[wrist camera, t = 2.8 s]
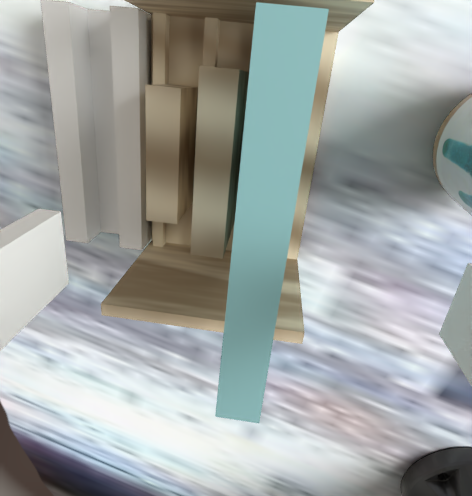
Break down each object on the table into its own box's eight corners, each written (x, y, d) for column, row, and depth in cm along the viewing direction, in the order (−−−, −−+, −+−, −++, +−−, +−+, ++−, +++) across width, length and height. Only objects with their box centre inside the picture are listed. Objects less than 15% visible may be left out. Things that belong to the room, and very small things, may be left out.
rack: (295, 261, 39) (302, 343, 27) (156, 243, 40) (101, 315, 28) (338, 20, 30) (379, -22, 18) (156, 3, 31) (76, -48, 19)
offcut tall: (235, 218, 36) (222, 258, 28) (210, 215, 36) (190, 254, 28) (250, 72, 31) (239, 69, 23) (220, 69, 31) (199, 65, 23)
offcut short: (195, 199, 36) (176, 224, 30) (169, 195, 36) (146, 220, 30) (200, 86, 32) (180, 88, 25) (172, 83, 32) (145, 84, 26)
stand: (154, 234, 40) (141, 250, 36) (85, 225, 40) (66, 240, 36) (154, 16, 31) (138, 8, 28) (67, 8, 32) (40, -1, 28)
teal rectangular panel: (270, 237, 37) (258, 423, 17) (250, 235, 37) (215, 416, 17) (296, 56, 30) (329, 8, 10) (271, 54, 30) (256, 1, 10)
